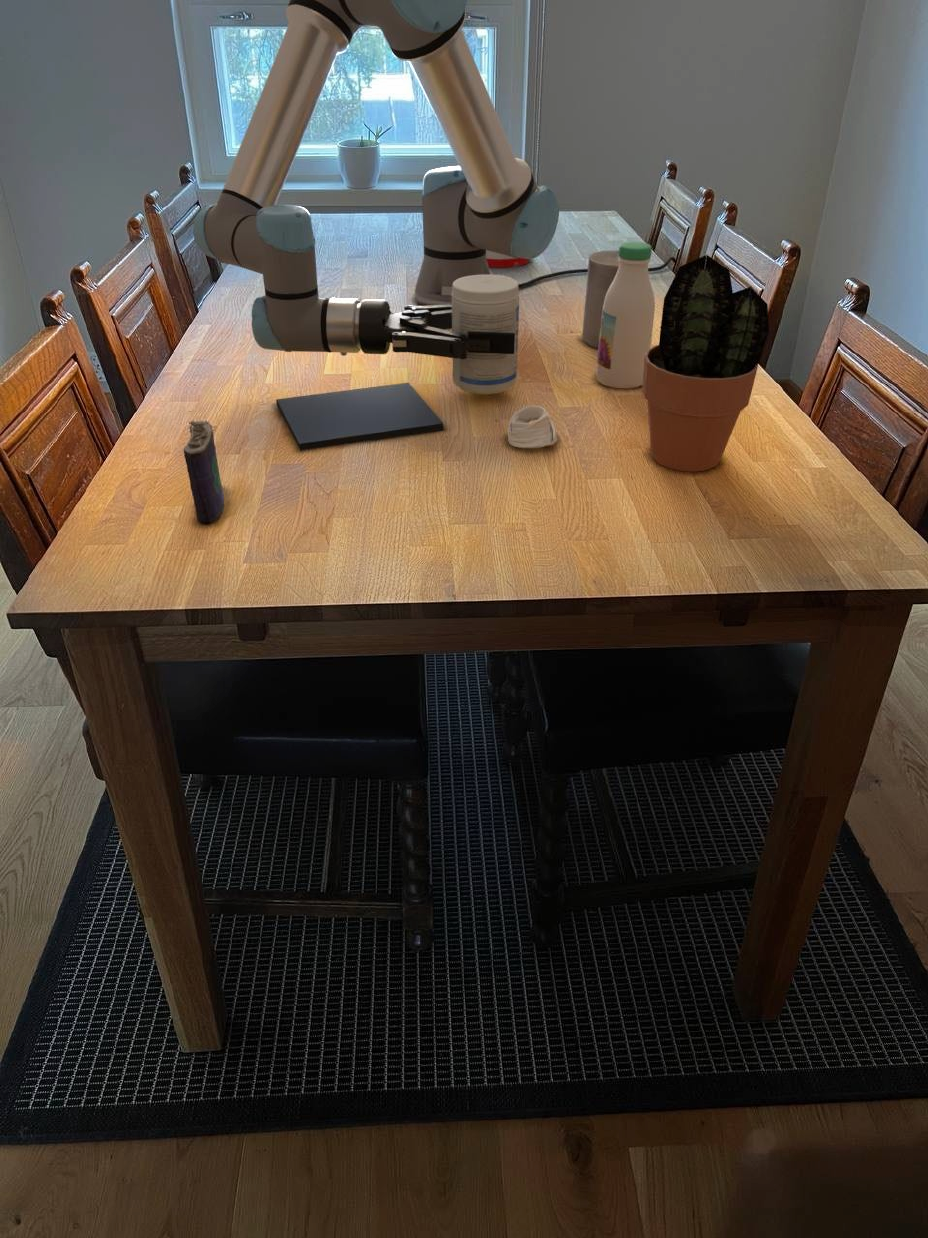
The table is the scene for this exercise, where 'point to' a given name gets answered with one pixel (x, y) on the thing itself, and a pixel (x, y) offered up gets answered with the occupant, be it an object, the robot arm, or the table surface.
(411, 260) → the table surface
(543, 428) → the white wrapped ring
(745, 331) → the potted plant
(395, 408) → the mat
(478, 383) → the supplement tub
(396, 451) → the table surface
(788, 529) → the table surface
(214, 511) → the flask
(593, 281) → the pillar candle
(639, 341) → the milk bottle
